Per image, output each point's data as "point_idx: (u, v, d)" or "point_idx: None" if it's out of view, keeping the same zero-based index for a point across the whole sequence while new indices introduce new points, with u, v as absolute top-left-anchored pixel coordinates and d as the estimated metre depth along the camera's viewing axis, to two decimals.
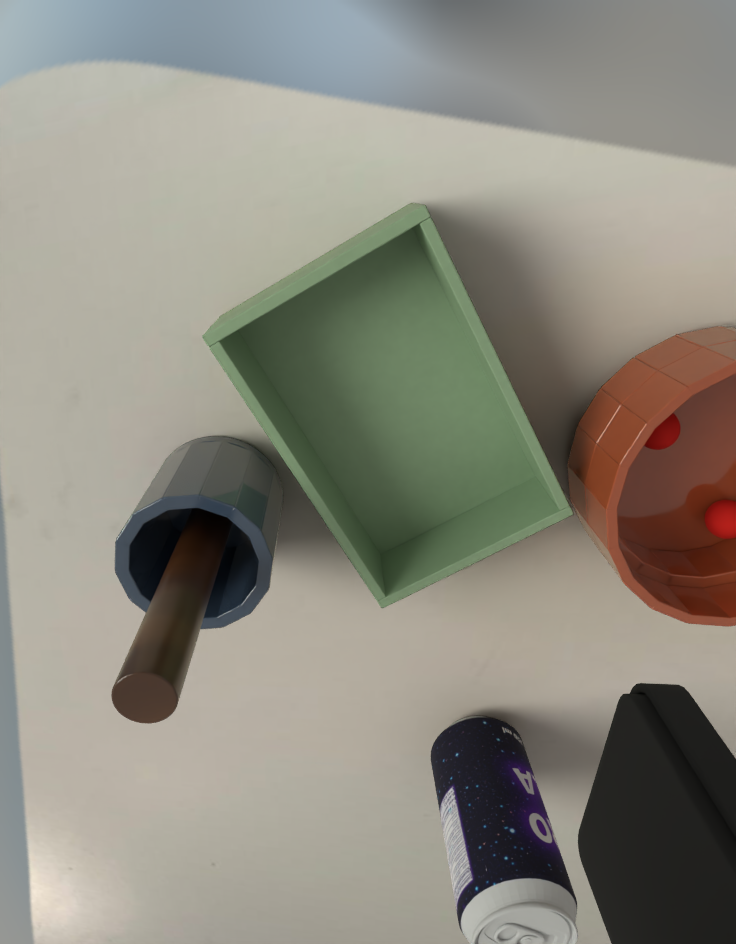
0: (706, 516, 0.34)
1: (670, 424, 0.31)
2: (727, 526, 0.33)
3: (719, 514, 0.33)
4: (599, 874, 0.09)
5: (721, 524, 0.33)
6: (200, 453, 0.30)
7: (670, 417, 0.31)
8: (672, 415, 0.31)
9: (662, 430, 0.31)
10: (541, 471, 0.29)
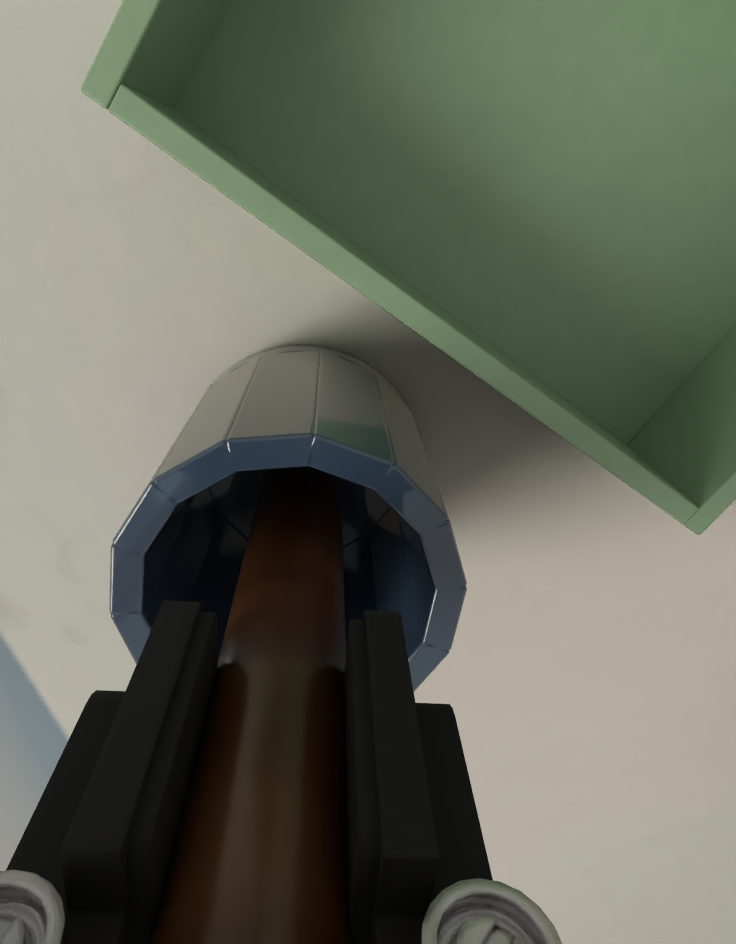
0: None
1: None
2: None
3: None
4: None
5: None
6: (225, 385, 0.15)
7: None
8: None
9: None
10: None
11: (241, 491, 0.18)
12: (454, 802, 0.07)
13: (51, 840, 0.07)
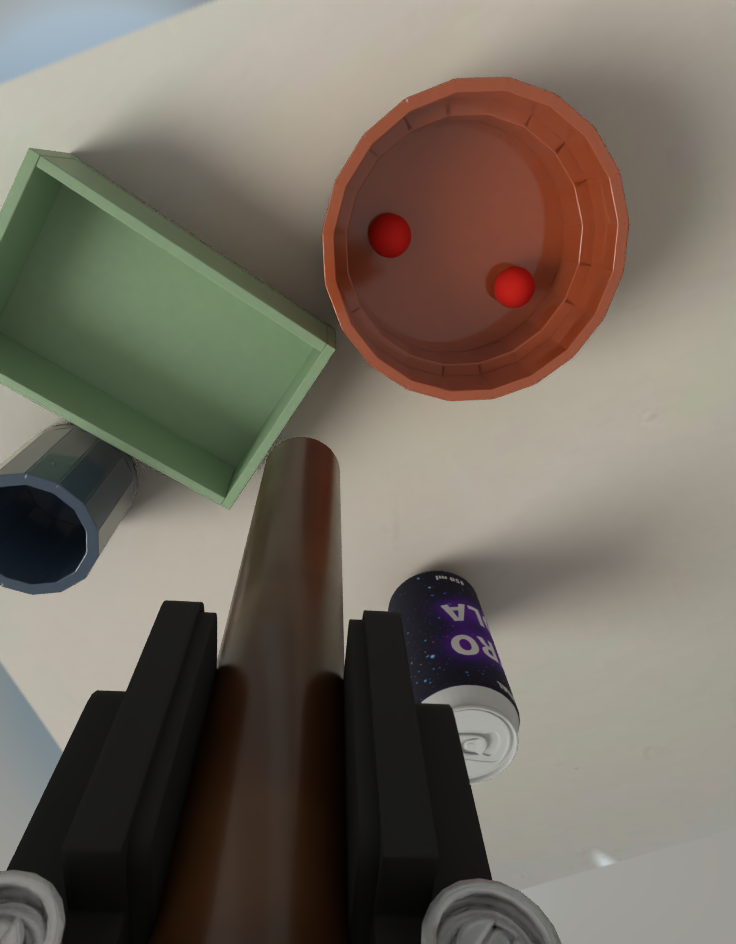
0: None
1: (389, 225, 0.31)
2: (509, 293, 0.32)
3: (499, 285, 0.32)
4: None
5: (504, 294, 0.32)
6: (22, 447, 0.34)
7: (388, 219, 0.31)
8: (390, 216, 0.31)
9: (385, 234, 0.31)
10: (281, 325, 0.30)
11: (46, 493, 0.37)
12: (454, 802, 0.07)
13: (52, 840, 0.07)
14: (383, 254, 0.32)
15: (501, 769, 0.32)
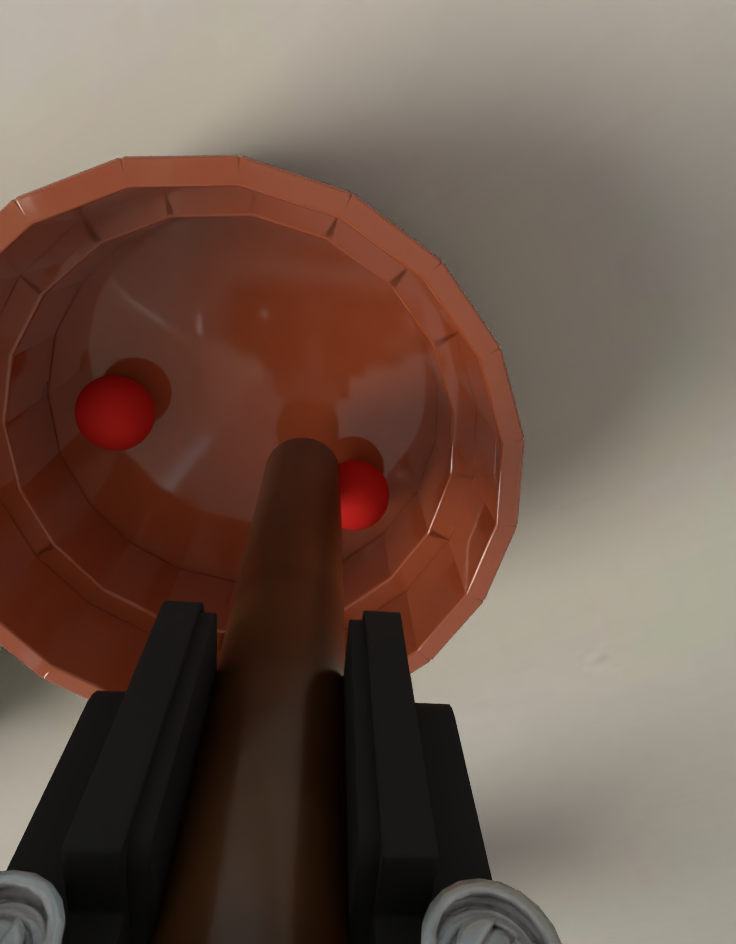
0: None
1: (98, 403, 0.17)
2: (343, 515, 0.18)
3: None
4: None
5: None
6: None
7: (98, 390, 0.17)
8: (104, 385, 0.17)
9: (91, 419, 0.17)
10: None
11: None
12: (454, 802, 0.07)
13: (51, 840, 0.07)
14: (100, 447, 0.17)
15: None
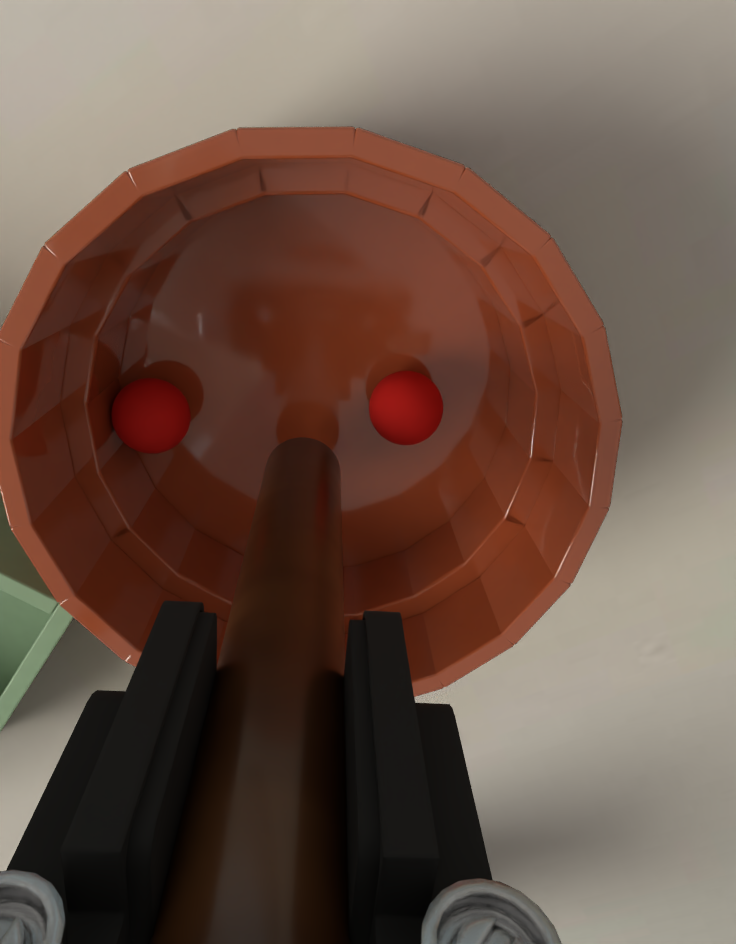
0: (371, 419, 0.18)
1: (112, 416, 0.17)
2: None
3: None
4: None
5: None
6: None
7: (114, 404, 0.17)
8: (119, 400, 0.17)
9: None
10: None
11: None
12: (454, 802, 0.07)
13: (51, 840, 0.07)
14: None
15: None
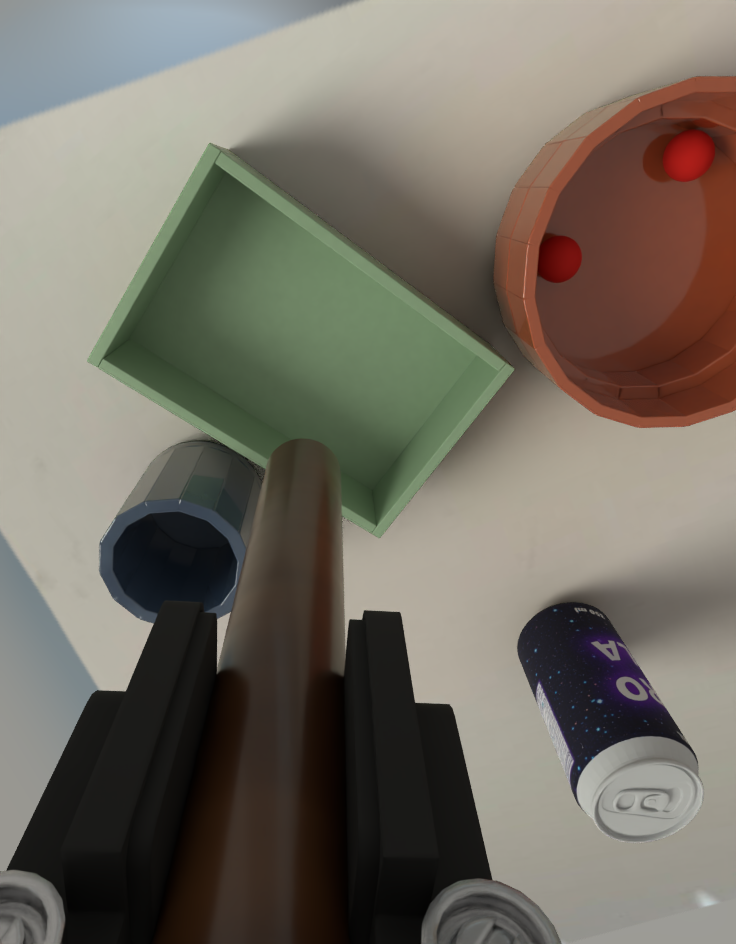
0: (664, 164, 0.28)
1: (552, 257, 0.29)
2: (689, 156, 0.27)
3: (674, 149, 0.27)
4: None
5: (682, 158, 0.27)
6: (155, 466, 0.32)
7: (554, 249, 0.28)
8: (559, 246, 0.28)
9: (544, 265, 0.29)
10: (459, 341, 0.28)
11: (169, 515, 0.34)
12: (454, 802, 0.07)
13: (51, 840, 0.07)
14: (542, 277, 0.30)
15: (680, 827, 0.29)
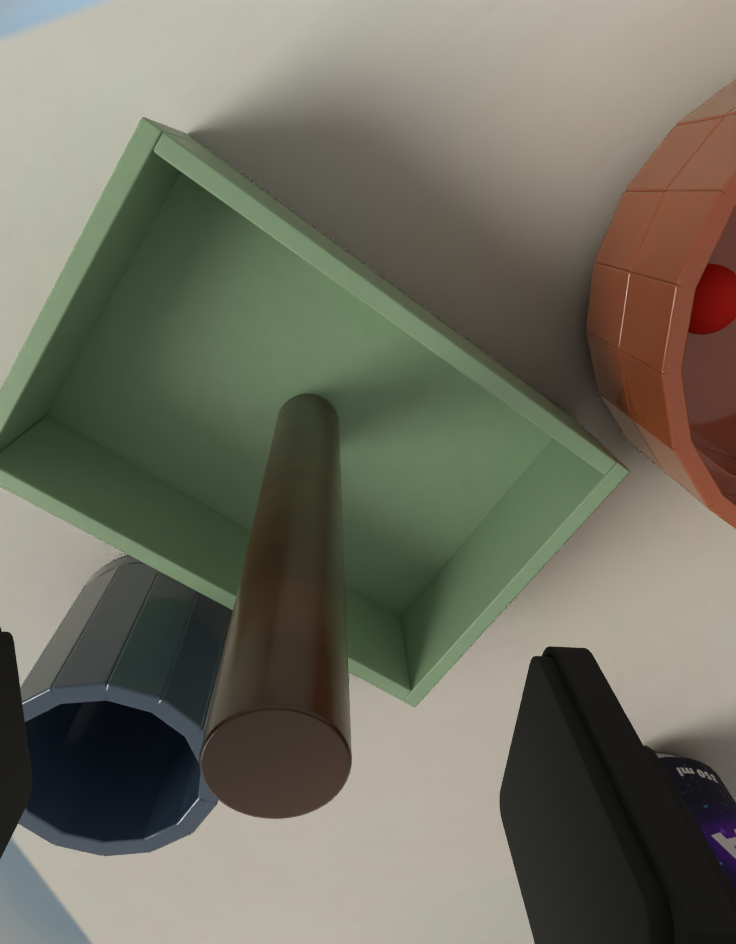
0: None
1: (718, 299, 0.18)
2: None
3: None
4: (513, 828, 0.09)
5: None
6: (86, 599, 0.22)
7: (720, 286, 0.18)
8: (725, 281, 0.18)
9: (702, 311, 0.19)
10: (546, 431, 0.18)
11: None
12: None
13: None
14: None
15: None
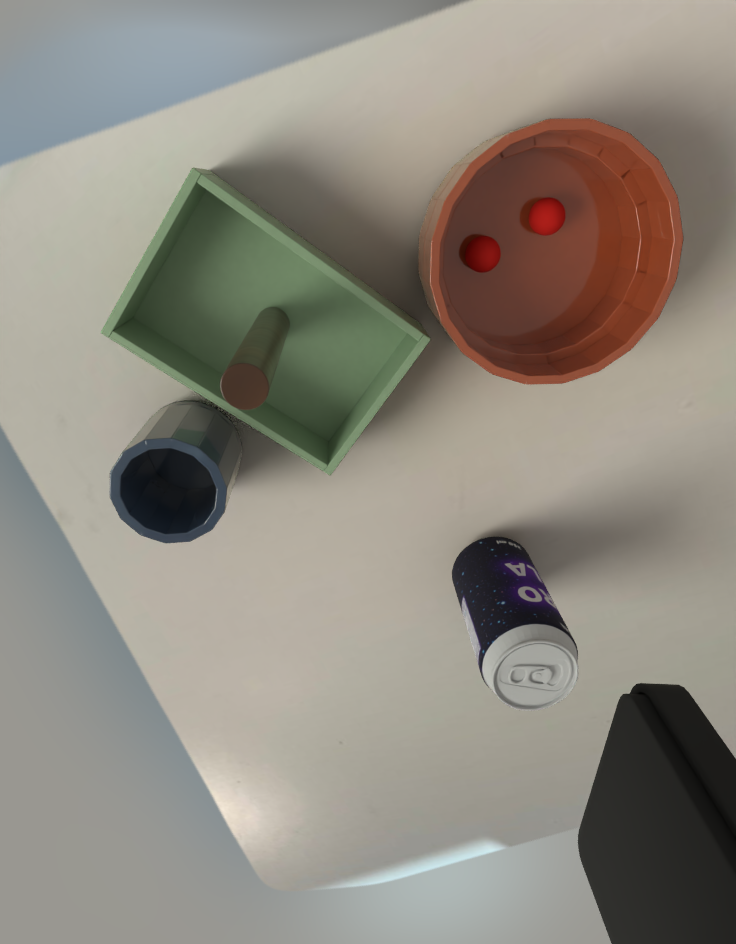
0: (535, 203, 0.37)
1: (492, 252, 0.37)
2: None
3: None
4: (599, 874, 0.09)
5: None
6: (153, 419, 0.40)
7: (492, 246, 0.37)
8: (493, 243, 0.37)
9: (486, 259, 0.37)
10: (387, 317, 0.36)
11: (164, 461, 0.43)
12: None
13: None
14: (474, 269, 0.38)
15: (562, 697, 0.38)
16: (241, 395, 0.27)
